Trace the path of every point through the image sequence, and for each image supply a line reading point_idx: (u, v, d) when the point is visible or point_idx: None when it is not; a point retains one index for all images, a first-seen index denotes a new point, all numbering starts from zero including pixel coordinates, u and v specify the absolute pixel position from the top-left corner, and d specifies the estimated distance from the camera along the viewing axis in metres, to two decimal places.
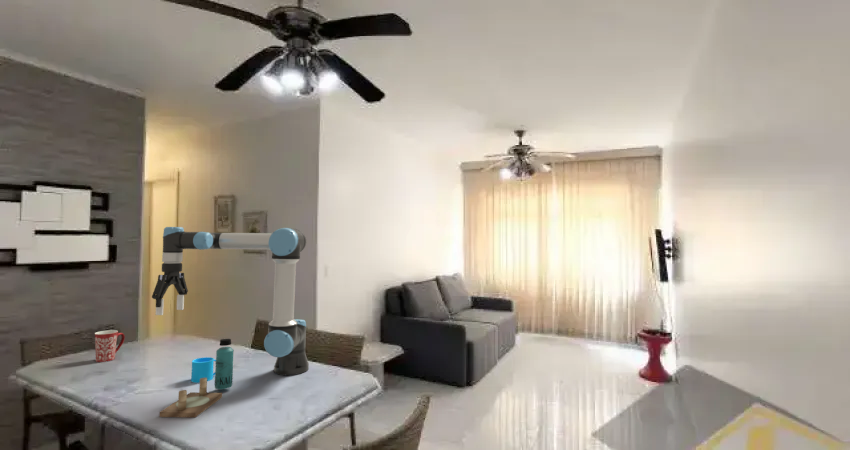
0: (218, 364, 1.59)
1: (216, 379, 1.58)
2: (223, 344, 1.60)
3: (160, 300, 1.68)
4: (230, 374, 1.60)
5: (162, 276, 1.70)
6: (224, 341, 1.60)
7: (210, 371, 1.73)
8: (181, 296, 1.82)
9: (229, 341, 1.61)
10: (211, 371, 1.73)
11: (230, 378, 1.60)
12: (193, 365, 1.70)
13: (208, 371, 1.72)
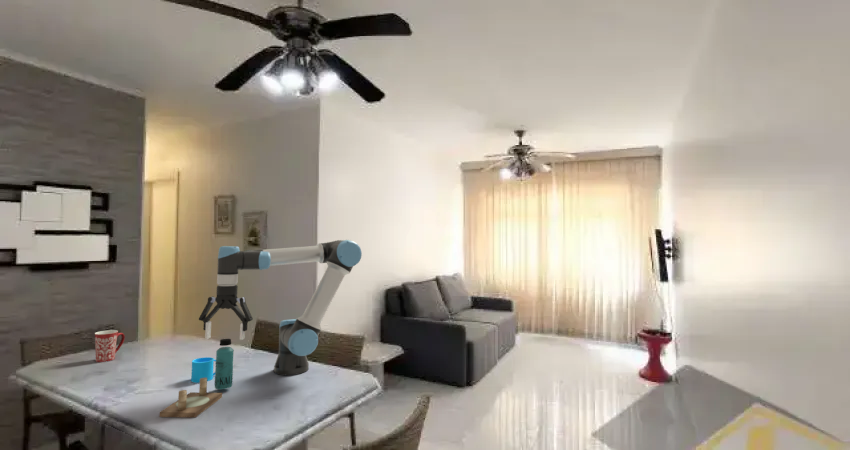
0: (218, 364, 1.59)
1: (216, 379, 1.58)
2: (223, 344, 1.60)
3: (205, 323, 1.61)
4: (230, 374, 1.60)
5: None
6: (224, 341, 1.60)
7: (210, 371, 1.73)
8: None
9: (229, 341, 1.61)
10: (211, 371, 1.73)
11: (230, 378, 1.60)
12: (193, 365, 1.70)
13: (208, 371, 1.72)
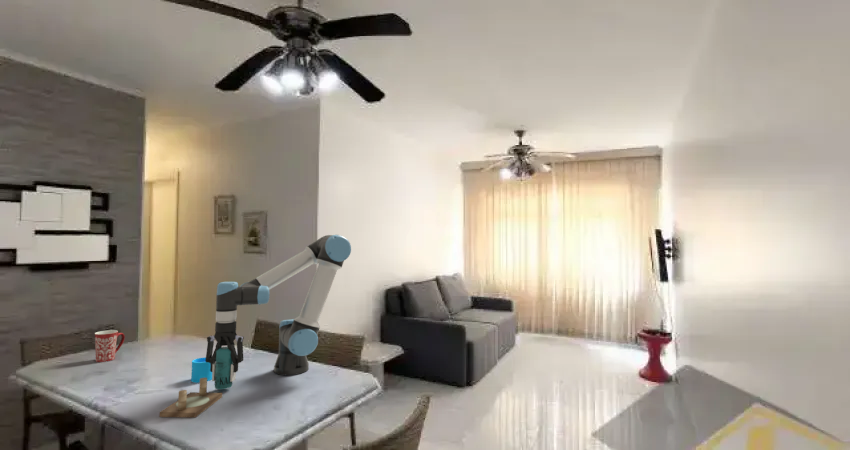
0: (218, 364, 1.59)
1: (216, 379, 1.58)
2: (223, 344, 1.60)
3: (212, 365, 1.61)
4: (230, 374, 1.60)
5: None
6: (224, 341, 1.60)
7: (210, 371, 1.73)
8: None
9: None
10: None
11: None
12: (193, 365, 1.70)
13: (208, 371, 1.72)
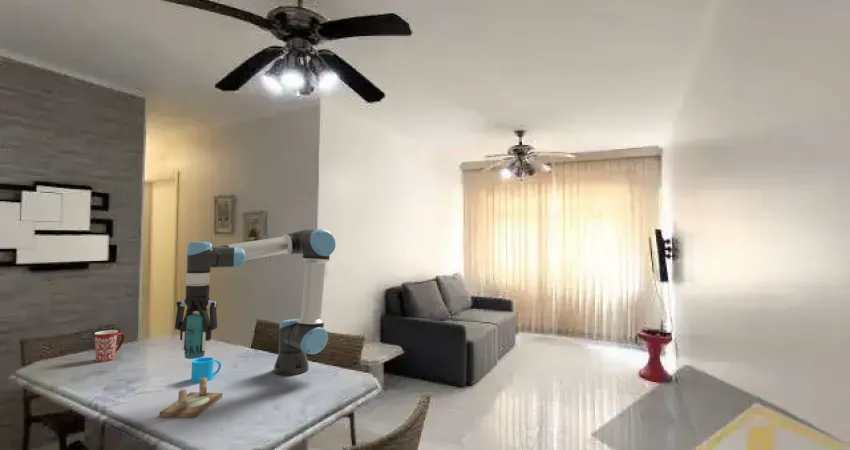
0: (188, 331, 1.43)
1: (186, 348, 1.43)
2: (194, 309, 1.45)
3: (182, 332, 1.45)
4: None
5: None
6: (195, 306, 1.45)
7: (210, 371, 1.73)
8: None
9: None
10: (211, 371, 1.73)
11: None
12: (193, 365, 1.70)
13: (208, 371, 1.72)
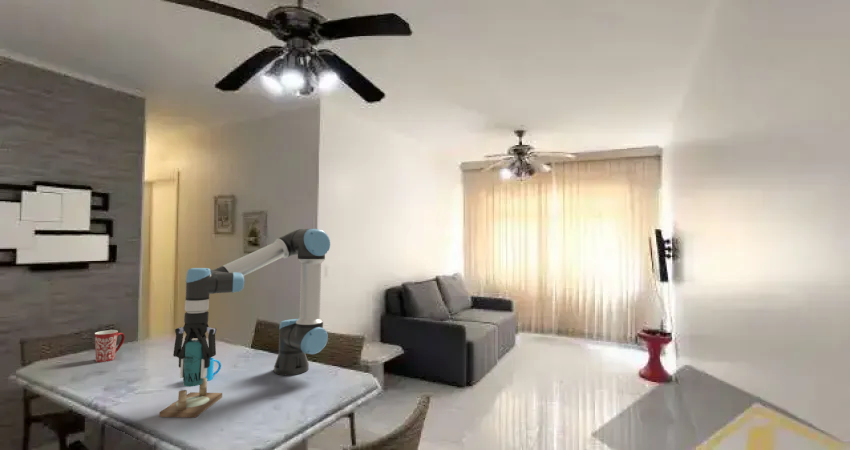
0: (187, 359, 1.43)
1: (184, 375, 1.43)
2: (193, 336, 1.44)
3: (180, 359, 1.45)
4: (200, 370, 1.45)
5: None
6: (194, 333, 1.44)
7: (210, 371, 1.73)
8: None
9: None
10: (211, 371, 1.73)
11: (200, 374, 1.45)
12: None
13: (208, 371, 1.72)
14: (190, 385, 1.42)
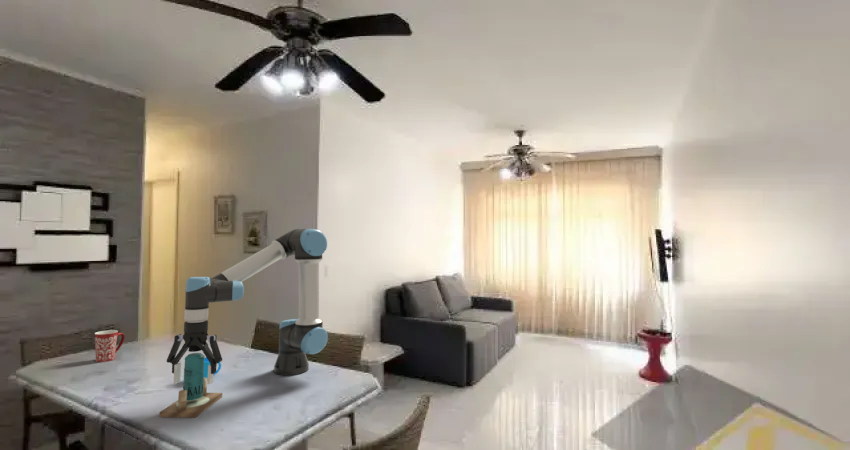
0: (186, 372, 1.43)
1: (184, 389, 1.43)
2: (192, 350, 1.44)
3: (174, 365, 1.45)
4: (200, 383, 1.45)
5: None
6: (193, 347, 1.44)
7: None
8: None
9: None
10: None
11: (200, 388, 1.45)
12: None
13: None
14: (190, 399, 1.42)
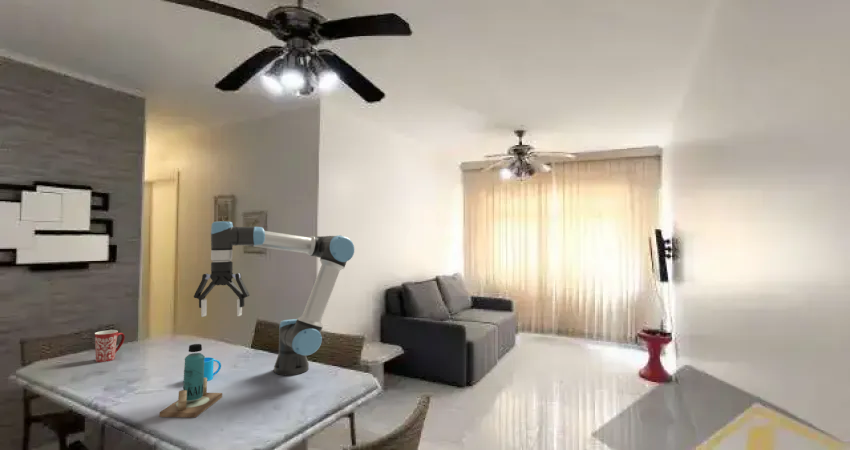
0: (186, 373, 1.43)
1: (184, 389, 1.43)
2: (192, 350, 1.44)
3: (200, 300, 1.58)
4: (200, 383, 1.45)
5: None
6: (193, 347, 1.44)
7: (210, 371, 1.73)
8: None
9: (199, 347, 1.45)
10: (211, 371, 1.73)
11: (200, 388, 1.45)
12: None
13: (208, 371, 1.72)
14: (190, 399, 1.42)
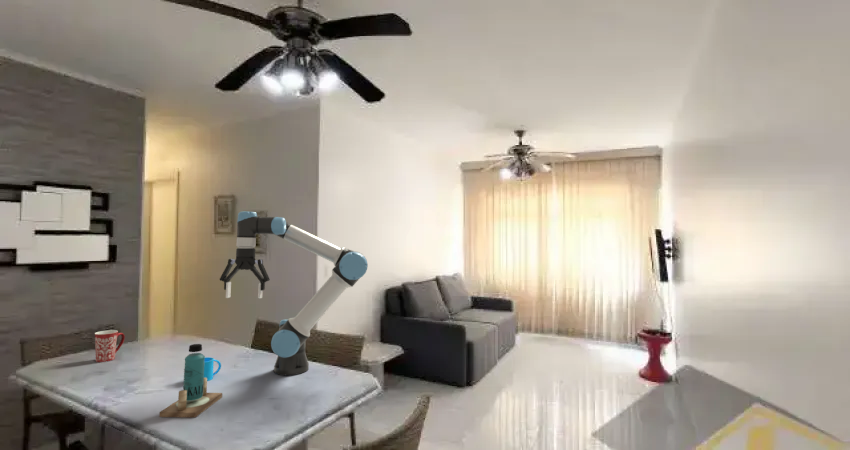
0: (186, 372, 1.43)
1: (184, 389, 1.43)
2: (192, 350, 1.44)
3: (225, 283, 1.73)
4: (200, 383, 1.45)
5: None
6: (193, 347, 1.44)
7: (210, 371, 1.73)
8: None
9: (199, 347, 1.45)
10: (211, 371, 1.73)
11: (200, 388, 1.45)
12: None
13: (208, 371, 1.72)
14: (190, 399, 1.42)
